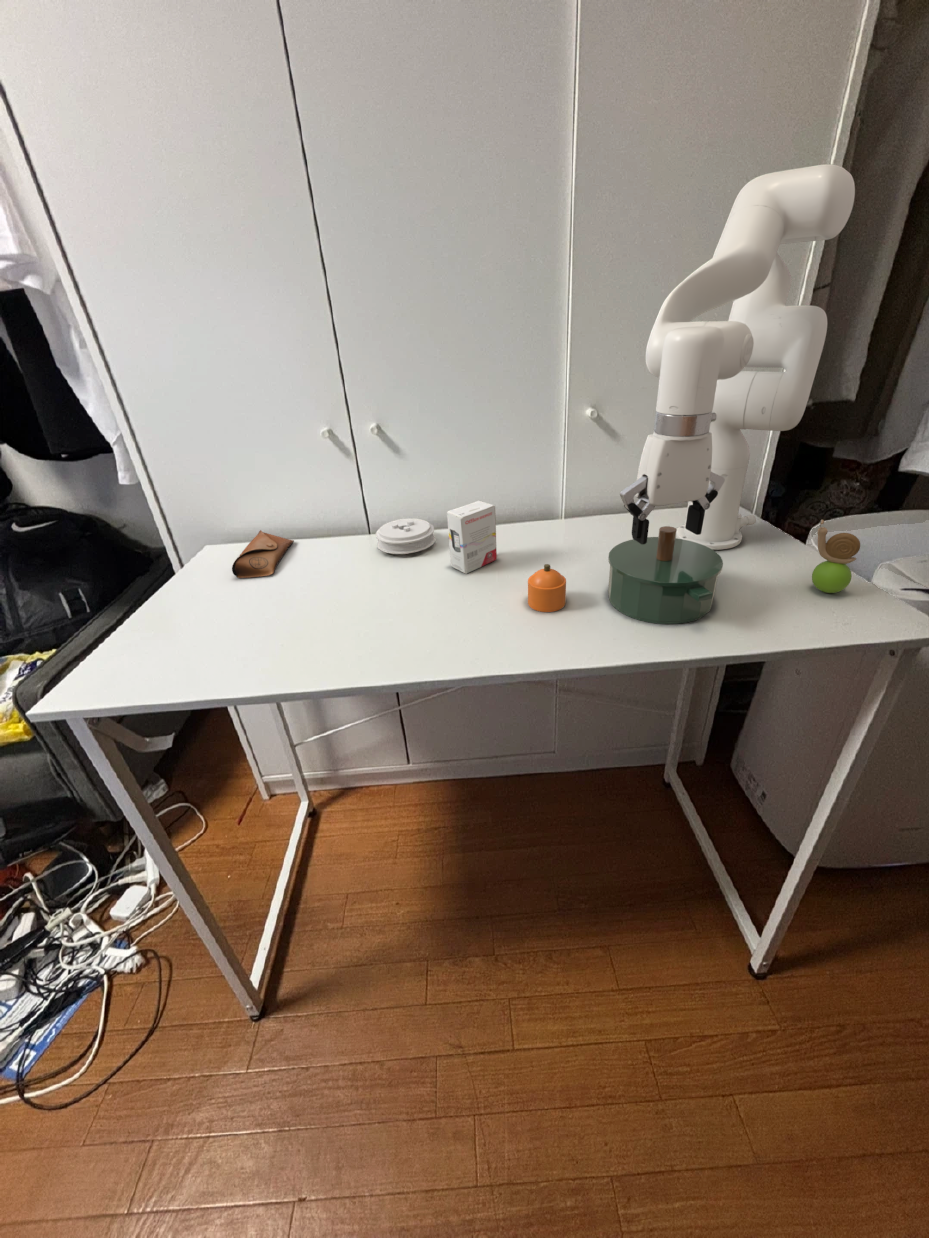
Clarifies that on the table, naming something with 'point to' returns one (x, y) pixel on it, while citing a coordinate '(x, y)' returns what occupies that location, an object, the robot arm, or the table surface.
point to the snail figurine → (834, 560)
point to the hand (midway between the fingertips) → (666, 536)
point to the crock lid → (666, 560)
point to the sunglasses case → (261, 556)
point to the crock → (660, 600)
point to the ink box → (472, 536)
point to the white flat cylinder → (405, 536)
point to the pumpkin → (546, 590)
